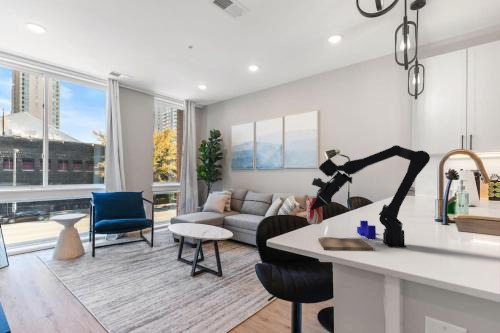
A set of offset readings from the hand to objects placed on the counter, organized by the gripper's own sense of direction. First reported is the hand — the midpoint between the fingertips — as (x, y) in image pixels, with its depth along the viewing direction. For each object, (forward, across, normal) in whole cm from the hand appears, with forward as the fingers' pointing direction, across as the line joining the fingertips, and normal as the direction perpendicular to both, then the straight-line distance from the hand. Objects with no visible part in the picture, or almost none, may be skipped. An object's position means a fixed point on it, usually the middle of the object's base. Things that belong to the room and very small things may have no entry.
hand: (311, 208), depth 113 cm
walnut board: (0, +10, +18) cm, 21 cm away
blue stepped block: (-7, -7, +26) cm, 28 cm away
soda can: (+4, 0, +6) cm, 7 cm away
